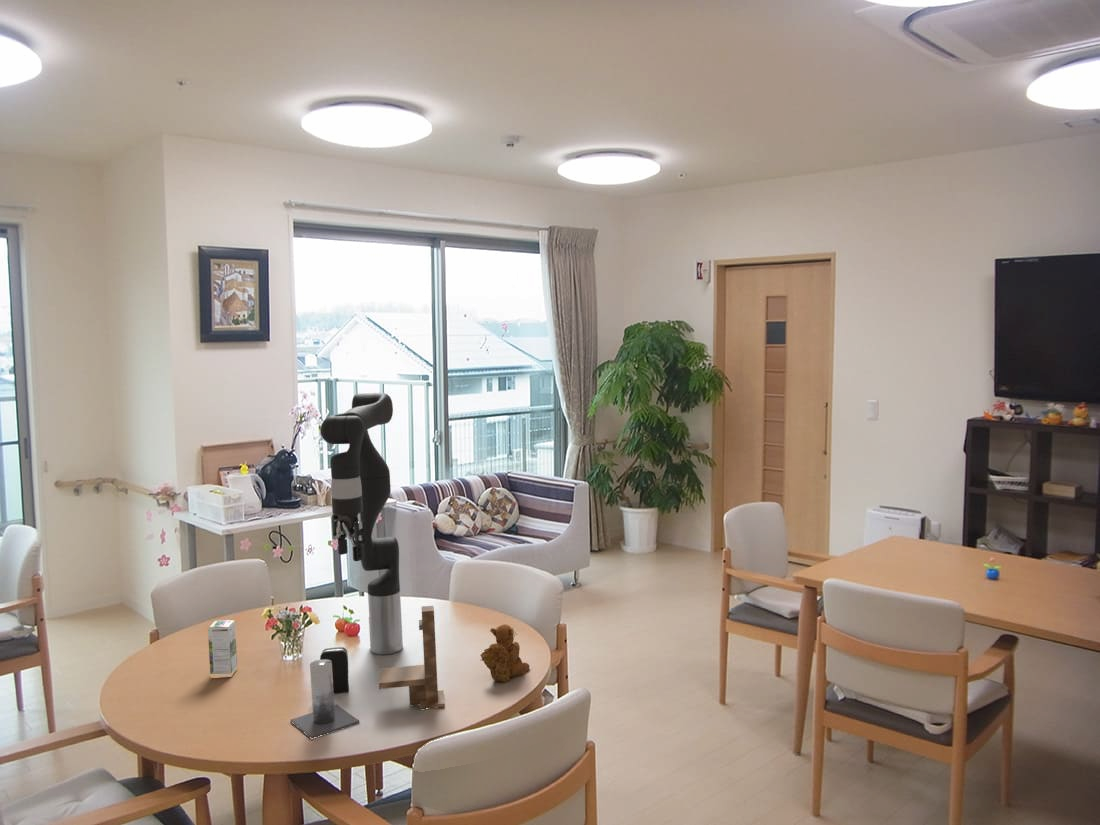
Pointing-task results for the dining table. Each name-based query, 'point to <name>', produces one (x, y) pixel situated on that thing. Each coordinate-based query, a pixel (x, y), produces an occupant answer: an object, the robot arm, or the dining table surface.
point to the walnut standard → (419, 670)
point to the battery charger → (338, 667)
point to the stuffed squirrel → (504, 655)
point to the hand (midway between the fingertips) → (350, 557)
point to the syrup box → (222, 647)
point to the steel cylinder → (322, 692)
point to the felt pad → (314, 730)
